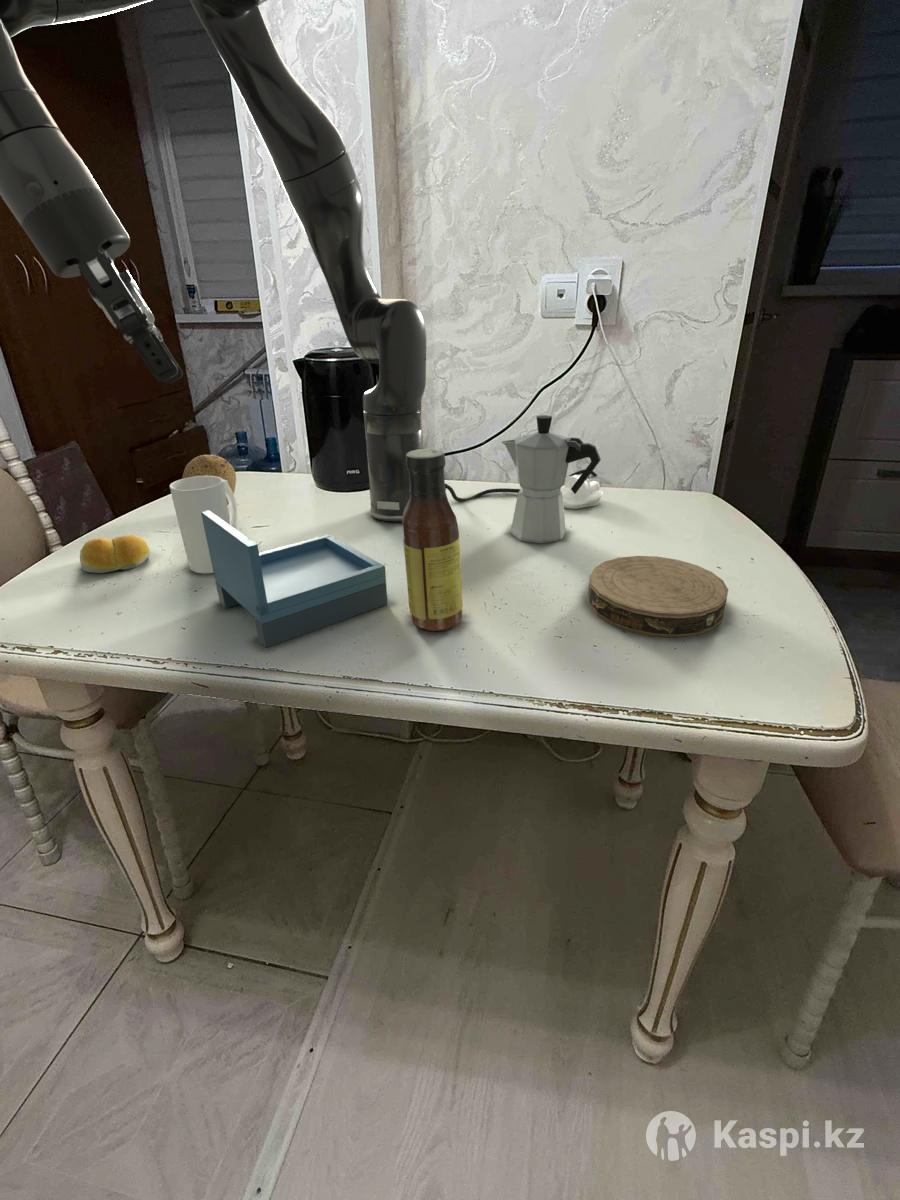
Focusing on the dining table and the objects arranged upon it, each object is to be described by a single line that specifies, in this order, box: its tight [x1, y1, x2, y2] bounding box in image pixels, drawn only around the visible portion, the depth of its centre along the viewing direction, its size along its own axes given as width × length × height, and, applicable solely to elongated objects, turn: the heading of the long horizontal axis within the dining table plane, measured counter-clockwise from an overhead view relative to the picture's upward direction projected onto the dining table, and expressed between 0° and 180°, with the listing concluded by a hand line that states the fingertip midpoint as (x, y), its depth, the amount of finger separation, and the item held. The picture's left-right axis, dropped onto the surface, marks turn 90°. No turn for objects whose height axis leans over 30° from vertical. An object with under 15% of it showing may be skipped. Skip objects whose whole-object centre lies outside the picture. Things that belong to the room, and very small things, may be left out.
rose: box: [560, 474, 603, 510], centre depth 111 cm, size 10×4×10 cm
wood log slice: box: [587, 555, 729, 638], centre depth 75 cm, size 16×16×3 cm
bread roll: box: [79, 534, 151, 574], centre depth 89 cm, size 8×9×4 cm
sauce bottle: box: [401, 448, 464, 632], centre depth 69 cm, size 7×6×20 cm
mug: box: [168, 476, 238, 575], centre depth 87 cm, size 10×7×12 cm, turn 159°
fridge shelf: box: [201, 510, 389, 648], centre depth 75 cm, size 16×14×12 cm
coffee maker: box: [500, 414, 602, 544], centre depth 93 cm, size 15×9×18 cm, turn 68°
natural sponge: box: [181, 454, 237, 507], centre depth 107 cm, size 9×9×10 cm
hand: (172, 379), depth 62 cm, fingers open, 8 cm apart
